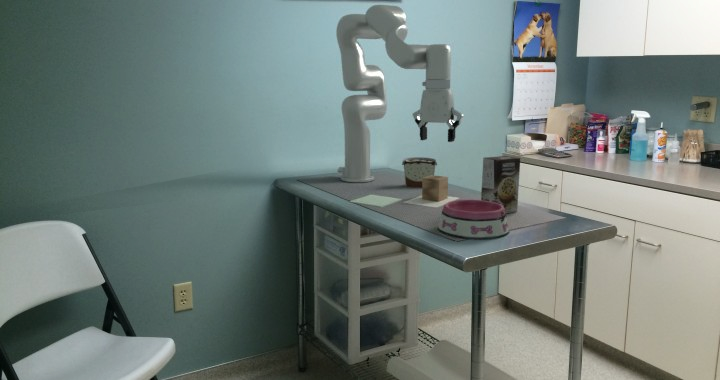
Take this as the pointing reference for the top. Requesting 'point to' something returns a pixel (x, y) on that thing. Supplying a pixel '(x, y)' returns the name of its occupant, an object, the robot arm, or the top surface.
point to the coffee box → (501, 181)
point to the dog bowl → (473, 220)
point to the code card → (430, 203)
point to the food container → (417, 170)
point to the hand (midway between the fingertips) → (437, 140)
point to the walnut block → (434, 188)
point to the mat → (376, 200)
